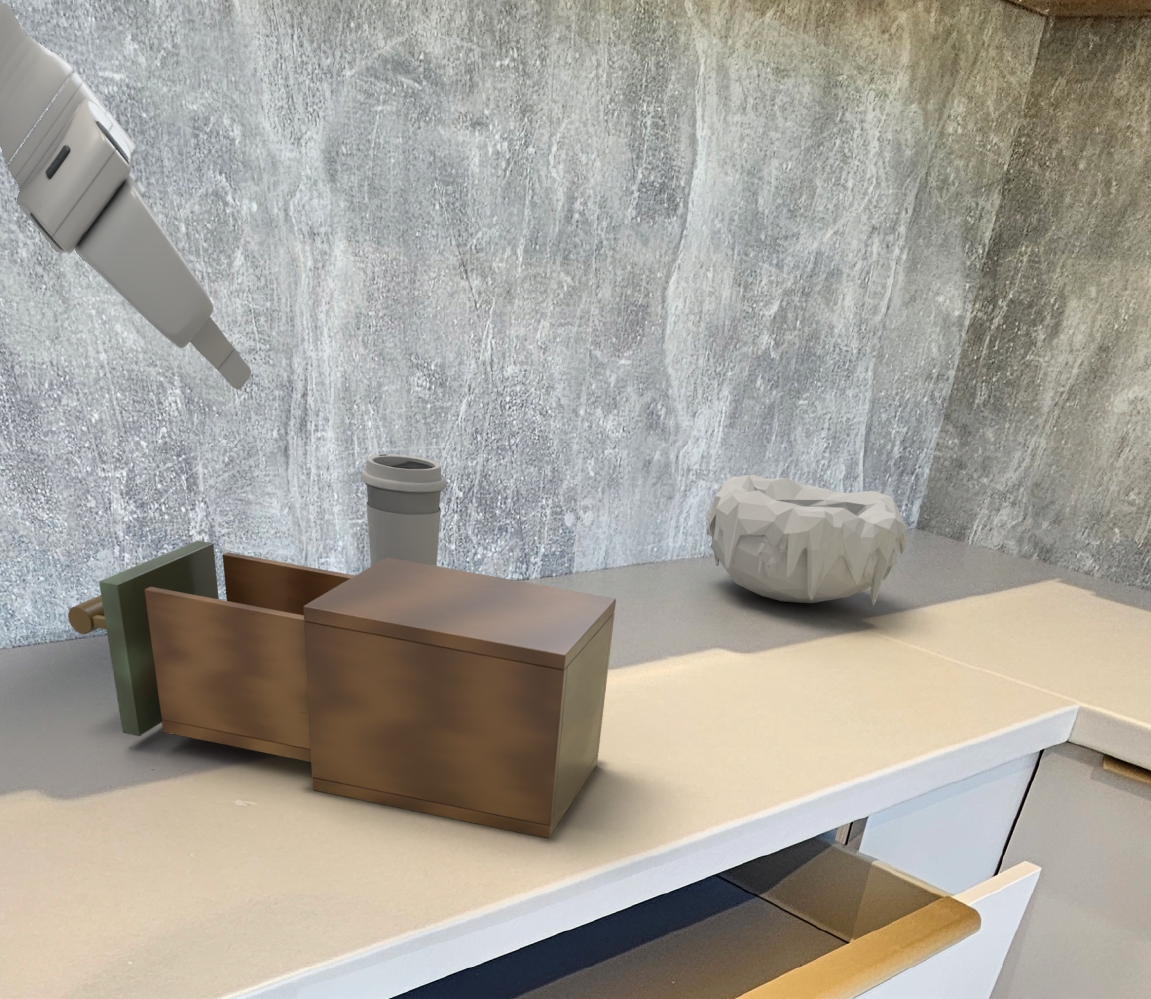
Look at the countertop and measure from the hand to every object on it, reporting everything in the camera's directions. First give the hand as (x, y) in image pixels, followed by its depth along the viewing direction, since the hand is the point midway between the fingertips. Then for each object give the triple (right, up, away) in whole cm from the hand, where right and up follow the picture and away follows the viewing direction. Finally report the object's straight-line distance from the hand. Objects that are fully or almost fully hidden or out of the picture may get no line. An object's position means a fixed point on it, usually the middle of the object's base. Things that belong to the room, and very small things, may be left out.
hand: (239, 373), depth 86 cm
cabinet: (+17, -33, -8) cm, 39 cm away
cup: (+10, -11, +15) cm, 21 cm away
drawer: (+2, -29, -7) cm, 30 cm away
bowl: (+48, +3, +36) cm, 60 cm away
